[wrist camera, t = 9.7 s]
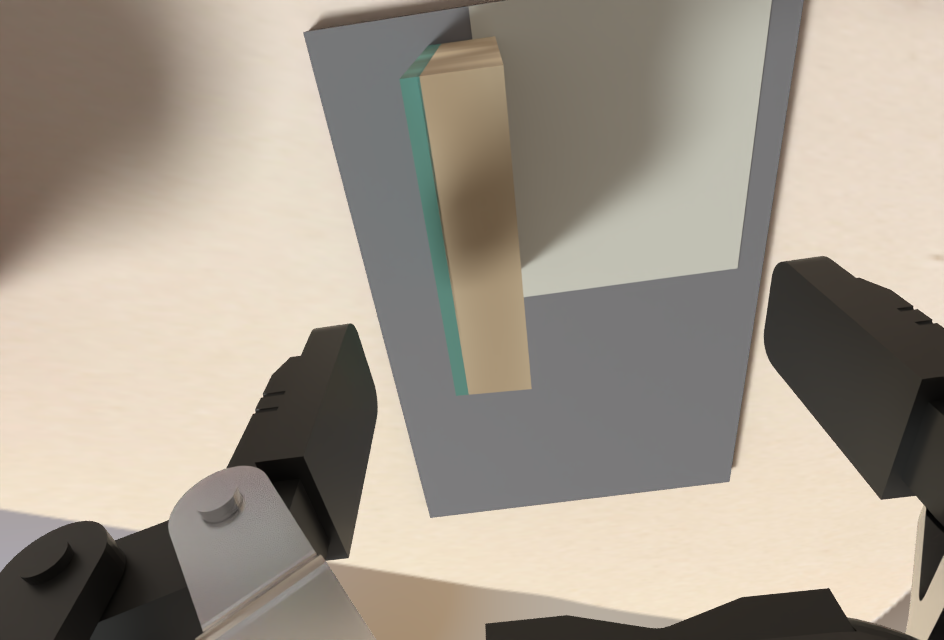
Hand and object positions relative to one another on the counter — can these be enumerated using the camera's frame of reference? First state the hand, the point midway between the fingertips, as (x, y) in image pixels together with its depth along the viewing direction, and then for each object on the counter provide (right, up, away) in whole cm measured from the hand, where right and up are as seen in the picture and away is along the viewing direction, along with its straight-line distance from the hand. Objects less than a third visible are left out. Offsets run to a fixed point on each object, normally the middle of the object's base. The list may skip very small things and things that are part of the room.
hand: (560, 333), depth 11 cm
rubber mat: (+2, +1, +12) cm, 12 cm away
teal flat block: (-2, +5, +8) cm, 10 cm away
